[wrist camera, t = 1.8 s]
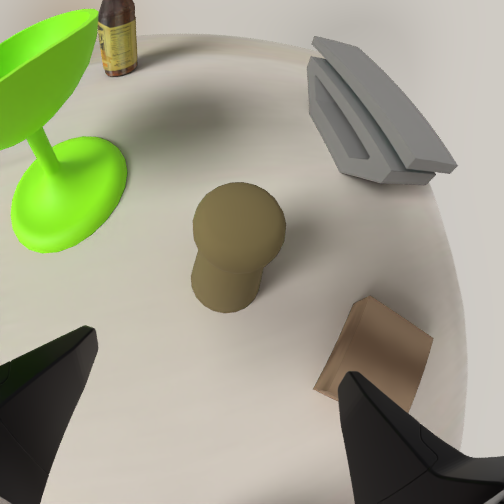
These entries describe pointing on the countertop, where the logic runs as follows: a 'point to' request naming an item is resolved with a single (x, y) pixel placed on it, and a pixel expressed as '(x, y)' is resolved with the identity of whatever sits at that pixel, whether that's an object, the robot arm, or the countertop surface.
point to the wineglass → (48, 158)
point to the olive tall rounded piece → (234, 244)
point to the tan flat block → (378, 353)
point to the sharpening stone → (370, 119)
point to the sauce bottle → (117, 36)
